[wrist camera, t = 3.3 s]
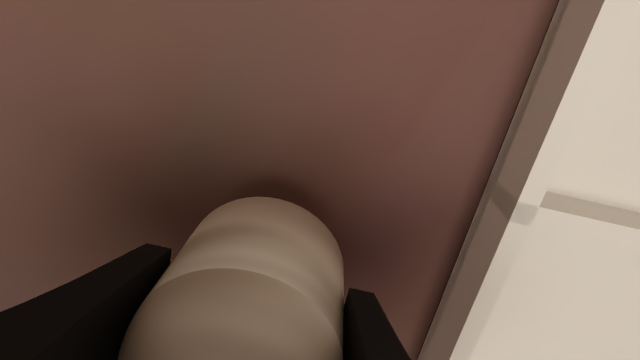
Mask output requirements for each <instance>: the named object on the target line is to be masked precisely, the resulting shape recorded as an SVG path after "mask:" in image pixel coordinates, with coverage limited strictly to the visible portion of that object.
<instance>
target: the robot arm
mask: <svg viewBox="0 0 640 360" xmlns="http://www.w3.org/2000/svg"><path fill="white" fill-rule="evenodd" d="M170 258H171V249H170V248H166V247H161V246H156V245H152V244H145V245H142V246H140V247H138V248H136V249H134V250H132V251H130V252H128V253H126V254H124V255H123V256H121V257H119V258H117V259H115V260H113V261H111V262H109V263H107V264H105V265H103V266H101V267H99V268H97V269H95V270H93V271H91V272H89V273H87V274H85V275H83V276H81V277H79V278H77V279H75V280H73V281H71V282H69V283H67V284H64V285H62V286H60V287H58V288H55V289H53V290H51V291H49V292H46V293H44V294H42V295H40V296H38V297H35V298H33V299H31V300H29V301H26V302H24V303H22V304H19V305H17V306H14V307H12V308H9V309H7V310H4V311H2V312H0V360H118V355H119V351H120V347H121V344H122V341H123V338H124V336H125V333H126V330H127V328H128V326H129V324H130V322H131V320H132V318H133V317H134V315H135V313H136V312H137V310H138V308H139V307H140V305H141V304H142V303H143V301H144V300H145V298H146V297H147V296H148V294H149V293H150V291H151V290H152V289H153V287H154V286H155V285H156V283H157V282H158V280H159V279H160V278H161V276H162V275H163V273H164V272H165V271H166V269H167V268H168V267H169V265H170ZM343 360H411V359H410V357H409V356H408V354H407V352H406V351H405V349H404V347H403V346H402V344H401V342H400V340H399V339H398V337H397V335H396V333H395V332H394V330H393V328H392V326H391V324H390V322H389V321H388V319H387V317H386V315H385V313H384V311H383V309H382V307H381V305H380V304H379V302H378V300H377V298H376V296H375V295H374V293H370V292H366V291H361V290H357V289H352V288H349V291H348V295H347V298H346V302H345V305H344V316H343Z"/></svg>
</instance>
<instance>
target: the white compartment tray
mask: <svg viewBox="0 0 640 360" xmlns="http://www.w3.org/2000/svg"><path fill="white" fill-rule="evenodd" d="M417 360H640V0H559V3H558V5H557V8H556V11H555V13H554V16H553V18H552V21H551V23H550V26H549V28H548V31H547V33H546V36H545V38H544V41H543V43H542V46H541V48H540V51H539V53H538V56H537V59H536V61H535V64H534V66H533V69H532V71H531V74H530V76H529V79H528V81H527V84H526V86H525V89H524V91H523V94H522V96H521V99H520V101H519V104H518V107H517V109H516V112H515V114H514V117H513V119H512V122H511V124H510V127H509V129H508V132H507V134H506V137H505V139H504V142H503V144H502V147H501V149H500V152H499V155H498V157H497V160H496V162H495V165H494V167H493V170H492V172H491V175H490V177H489V180H488V182H487V185H486V187H485V190H484V192H483V195H482V197H481V200H480V203H479V205H478V208H477V210H476V213H475V215H474V218H473V220H472V223H471V225H470V228H469V230H468V233H467V235H466V238H465V240H464V243H463V245H462V248H461V251H460V253H459V256H458V258H457V261H456V263H455V266H454V268H453V271H452V273H451V276H450V278H449V281H448V283H447V286H446V288H445V291H444V293H443V296H442V299H441V301H440V304H439V306H438V309H437V311H436V314H435V316H434V319H433V321H432V324H431V326H430V329H429V331H428V334H427V336H426V339H425V341H424V344H423V347H422V349H421V352H420V354H419V357H418V359H417Z"/></svg>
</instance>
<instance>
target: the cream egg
mask: <svg viewBox="0 0 640 360" xmlns="http://www.w3.org/2000/svg"><path fill="white" fill-rule="evenodd" d="M343 316H344V266H343V258H342V254H341V251H340V248H339V246H338V243H337V241H336V240H335V238H334V236H333V235H332V233H331V232H330V230H329V229H328V228H327V227H326V225H325V224H324V223H323V222H322V221H320V220H319V219H318V218H317V217H316V216H315V215H313V214H312V213H311V212H309V211H307V210H306V209H304V208H302V207H300V206H298V205H296V204H293V203H291V202H288V201H285V200H281V199H277V198H271V197H247V198H242V199H237V200H234V201H231V202H228V203H226V204H224V205H222V206H220V207H218V208H216V209H215V210H214V211H212V212H211V213H209V214H208V215H207V216H206V217H205V218H204V219H203V220H202V221H201V223H200V224H199V225H198V226H197V228H196V229H195V231H194V232H193V233H192V235H191V236H190V238H189V239H188V240H187V242H186V243H185V244H184V246H183V247H182V249H181V250H180V251H179V253H178V254H177V255H176V257H175V258H174V260H173V261H172V262H171V264H170V265H169V267H168V268H167V269H166V271H165V272H164V273H163V275H162V276H161V278H160V279H159V280H158V282H157V283H156V285H155V286H154V287H153V289H152V290H151V291H150V293H149V294H148V296H147V297H146V298H145V300H144V301H143V303H142V304H141V305H140V307H139V308H138V310H137V312H136V313H135V315H134V317H133V318H132V320H131V322H130V324H129V326H128V328H127V330H126V333H125V336H124V338H123V341H122V344H121V347H120V351H119V355H118V360H343Z"/></svg>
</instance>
